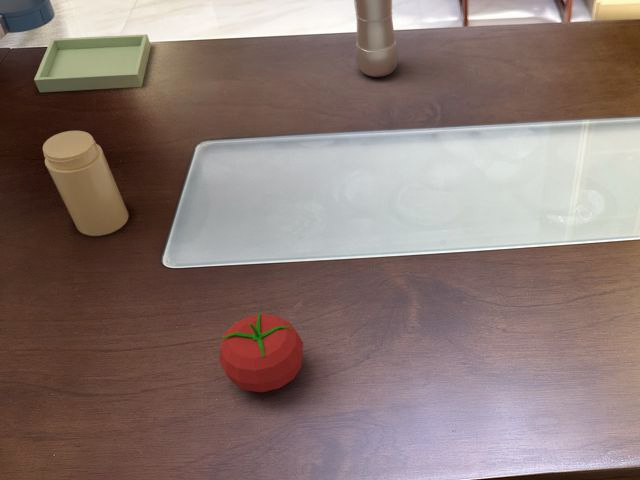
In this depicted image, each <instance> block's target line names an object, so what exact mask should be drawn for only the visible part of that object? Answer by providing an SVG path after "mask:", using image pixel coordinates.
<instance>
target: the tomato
mask: <svg viewBox="0 0 640 480" xmlns="http://www.w3.org/2000/svg"><path fill="white" fill-rule="evenodd" d="M303 351H304V342H303V339H302V338H301V336H300V335H299V333H298V331H297V330H296V328H295V327H294V326H293V324H292V323H291V321H288V320H286V319H284V318H283V317H281V316H279V315H273V314H266V313H262V311H261V310H260V311H259V313H258V314H256V315H250V316H246V317H244V318H242V319H241V320H239V321H237V322H235V323H234V324H232V325H231V326H230V327H229V328H228V329H227V331H225V333H224V334H223V336H222V337H221V343H220V351H219V363H220V365H221V367H222V369H223V372H224V374H225V375H226V376H227V377H228V379H229V380H230V381H231V383H233V384H234V385H236V386H237V387H239V388H241V389H242V390H244V391H248V392H256V393H264V392H270V391H273V390H274V391H275V390H278V389H280V388H282V387H284V386H286V385H287V384H289V383H290V382H291V381H293V380H294V379H295V377H296V376H297V375H298V373H299V372H300V370H301V368H302V366H303V365H302V364H303V353H304V352H303Z"/></svg>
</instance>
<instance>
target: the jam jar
mask: <svg viewBox="0 0 640 480" xmlns="http://www.w3.org/2000/svg"><path fill="white" fill-rule="evenodd" d="M42 153H43V157H44V164H45V167H46V169H47V171H48V173H49V176H50V177H51V179H52V181H53V184H54V185H55V187H56V189H57V192H58V193H59V195H60V197H61V199H62V201H63V204H64V205H65V207H66V209H67V211H68V214H69V216H70V217H71V219H72V222H73V224H74V225H75V228H76V229H77V231H78V232H80V233H81V234H83V235H86V236H91V237H100V236H106V235H109V234H112V233H114V232H117V231H118V230H120V229H121V228H122V227H124V225H126V224H127V222H128V220H129V215H130V214H129V211H128V209H127V207H126V204H125V201H124V199H123V197H122V194H121V192H120V189H119V187H118V185H117V182H116V180H115V177H114V174H113V172H112V170H111V168H110V165H109V163H108V160H107V158H106V155H105V154H104V151H103V149H102V147H101V146H100V144H97V143H96V140H94V137H93V136H92V134H90V133H89V132H86V131H82V130H67V131H61V132H60V133H56V134H54V135H52V136H50V137H49V138H47V140H46V141H45V142H44V143H43V146H42Z"/></svg>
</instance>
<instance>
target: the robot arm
mask: <svg viewBox="0 0 640 480" xmlns="http://www.w3.org/2000/svg"><path fill="white" fill-rule="evenodd" d="M9 30H10V29H9V26H8V25H6V20H5V18H4V16H3V15H0V40H2V39H3V38H4V37H5V36H7V34H9V33H8V32H9Z"/></svg>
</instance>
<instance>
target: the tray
mask: <svg viewBox="0 0 640 480" xmlns="http://www.w3.org/2000/svg"><path fill="white" fill-rule="evenodd" d="M151 48H152V45H151V42H150V39H149V35H148V34H126V35H125V34H123V35H106V36H105V35H103V36H84V37H83V36H82V37H81V36H80V37H63V38H62V37H61V38H50V41H49V43H48V45H47V48H46V50H45V53H44V55H43V57H42V60H41V62H40V64H39V67H38V70H37V72H36V74H35V76H34V79H33V80H34V84H35V85H36V87H37V89H38V91H39V93H56V92H73V91H74V92H75V91H90V90H93V91H94V90H108V89H110V90H111V89H127V88H141V87H143V82H144V79H145V75H146V71H147V65H148V61H149V58H150V53H151Z"/></svg>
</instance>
